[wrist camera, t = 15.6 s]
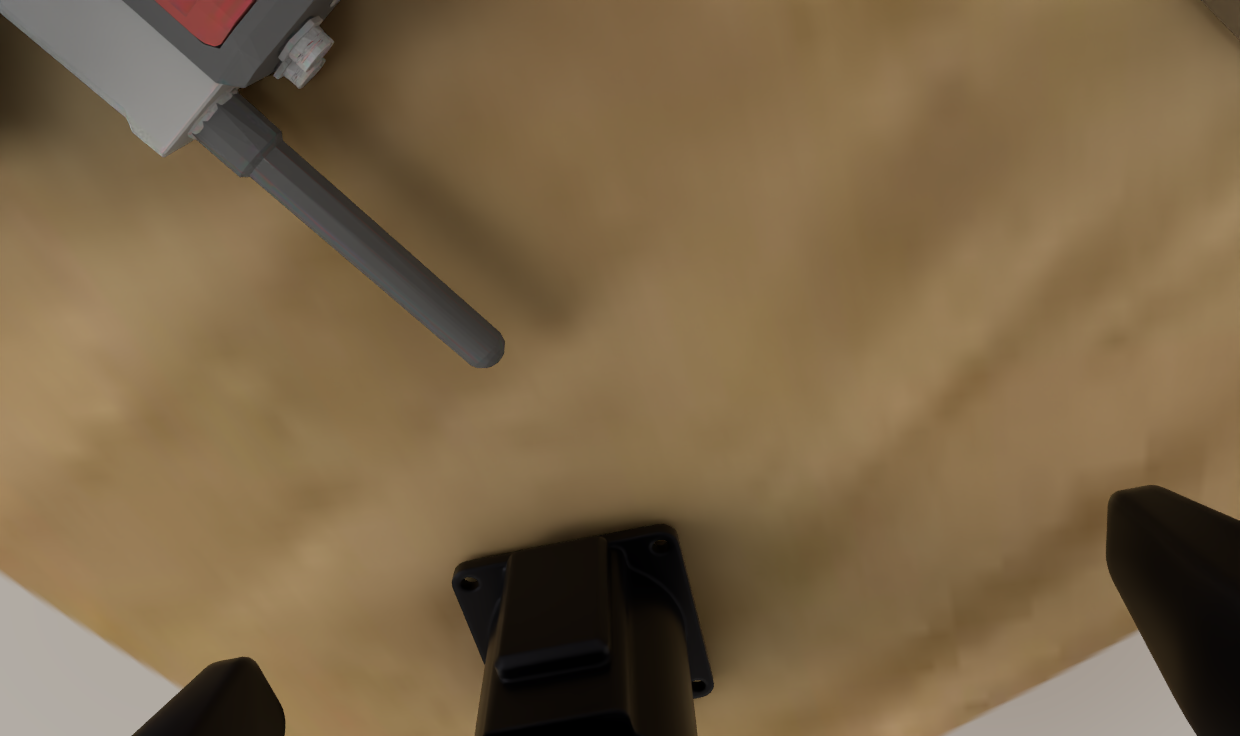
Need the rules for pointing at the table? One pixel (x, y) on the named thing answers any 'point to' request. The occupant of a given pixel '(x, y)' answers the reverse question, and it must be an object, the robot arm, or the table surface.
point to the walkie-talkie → (240, 119)
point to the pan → (1226, 13)
